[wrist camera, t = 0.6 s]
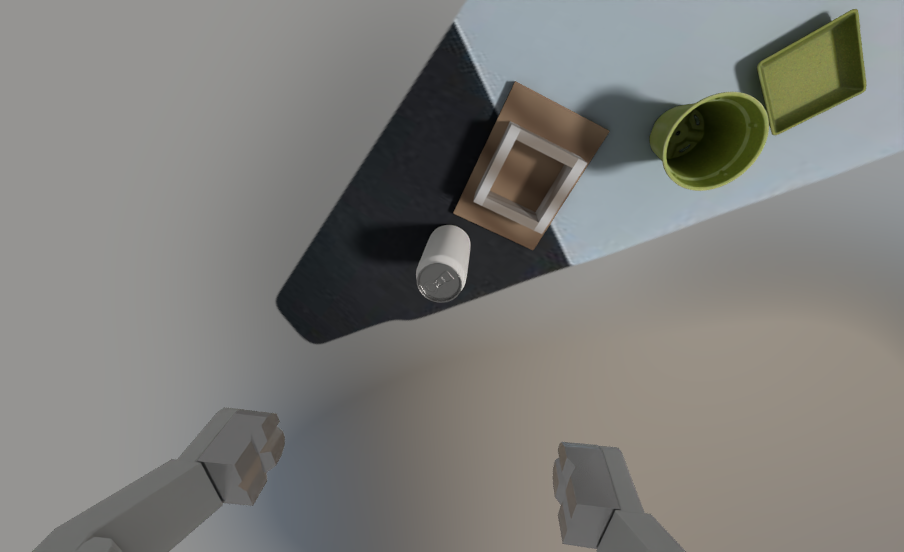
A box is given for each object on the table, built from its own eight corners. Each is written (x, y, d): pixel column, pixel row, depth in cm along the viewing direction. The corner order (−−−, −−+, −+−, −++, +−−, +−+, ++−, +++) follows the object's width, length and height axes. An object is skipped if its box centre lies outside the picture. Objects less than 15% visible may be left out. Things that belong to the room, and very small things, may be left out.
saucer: (761, 134, 41) (773, 137, 40) (744, 64, 38) (756, 63, 36) (850, 90, 38) (867, 90, 37) (839, 9, 35) (858, 6, 33)
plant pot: (655, 186, 45) (687, 208, 38) (620, 128, 42) (647, 138, 35) (731, 138, 42) (783, 150, 34) (698, 70, 39) (747, 67, 31)
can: (420, 239, 53) (402, 278, 42) (452, 215, 50) (442, 250, 40) (447, 269, 55) (436, 313, 44) (479, 247, 52) (476, 288, 42)
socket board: (514, 81, 41) (517, 81, 37) (606, 129, 43) (620, 135, 38) (454, 209, 50) (450, 223, 46) (532, 246, 52) (536, 262, 47)
